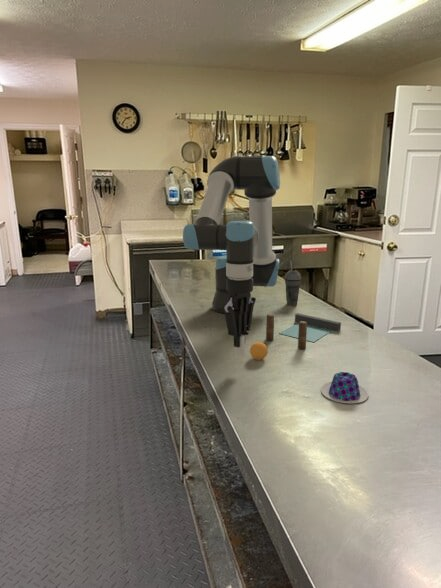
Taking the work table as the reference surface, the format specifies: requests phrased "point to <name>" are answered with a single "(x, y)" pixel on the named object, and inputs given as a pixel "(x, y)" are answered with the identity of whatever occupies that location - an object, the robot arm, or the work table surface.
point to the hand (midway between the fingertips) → (239, 356)
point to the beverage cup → (292, 286)
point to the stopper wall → (318, 322)
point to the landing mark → (312, 332)
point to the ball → (258, 350)
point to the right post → (302, 335)
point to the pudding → (344, 388)
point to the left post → (270, 327)
